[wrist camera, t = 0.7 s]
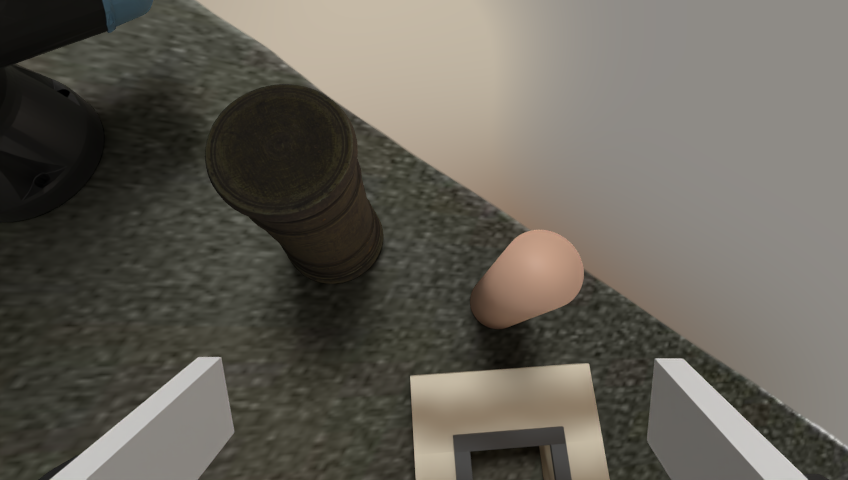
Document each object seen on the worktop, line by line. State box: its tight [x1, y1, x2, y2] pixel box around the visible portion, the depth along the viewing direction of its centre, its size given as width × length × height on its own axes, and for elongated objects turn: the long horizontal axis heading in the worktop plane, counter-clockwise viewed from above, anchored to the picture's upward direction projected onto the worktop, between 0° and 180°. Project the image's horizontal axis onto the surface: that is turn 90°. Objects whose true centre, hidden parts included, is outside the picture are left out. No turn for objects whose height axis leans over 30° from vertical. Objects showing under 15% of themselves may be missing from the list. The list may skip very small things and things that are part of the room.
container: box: [205, 84, 383, 284], centre depth 31 cm, size 9×9×18 cm
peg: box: [470, 230, 584, 329], centre depth 32 cm, size 5×5×14 cm
